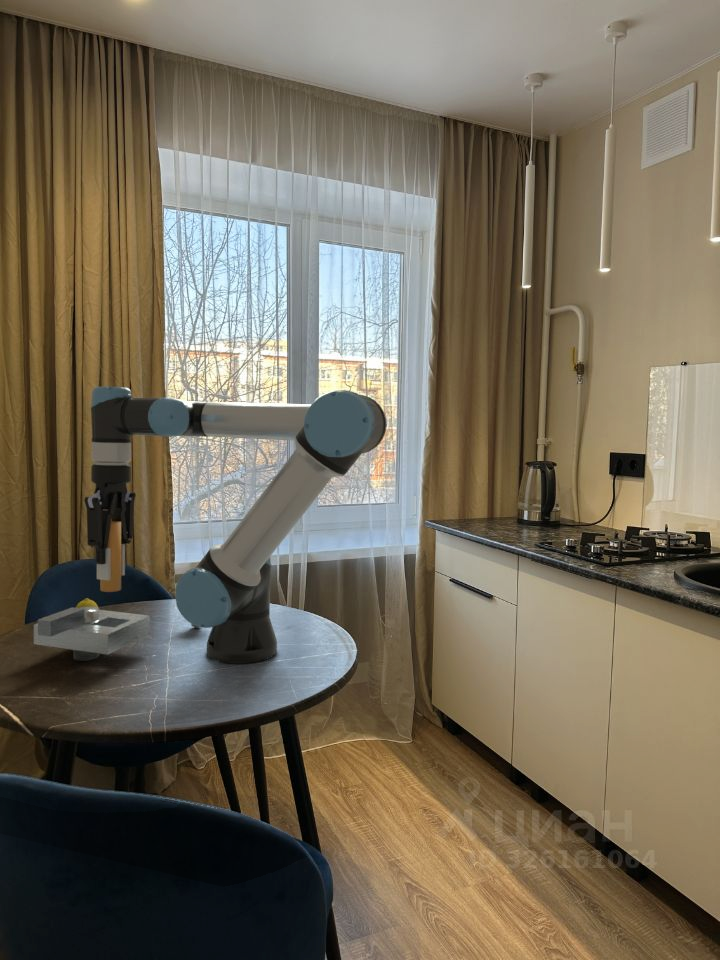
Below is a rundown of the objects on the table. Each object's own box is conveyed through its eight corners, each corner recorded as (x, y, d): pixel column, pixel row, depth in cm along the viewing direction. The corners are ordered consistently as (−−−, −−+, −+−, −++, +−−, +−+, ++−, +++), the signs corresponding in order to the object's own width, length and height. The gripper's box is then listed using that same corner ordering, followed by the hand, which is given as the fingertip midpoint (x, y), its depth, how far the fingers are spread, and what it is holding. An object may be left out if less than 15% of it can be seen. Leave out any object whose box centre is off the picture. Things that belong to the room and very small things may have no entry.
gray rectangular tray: (149, 652, 142) (149, 602, 141) (90, 683, 124) (90, 626, 123) (81, 642, 147) (80, 594, 146) (14, 671, 129) (14, 616, 128)
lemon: (90, 636, 151) (90, 602, 151) (68, 634, 153) (68, 600, 152) (104, 629, 157) (104, 596, 156) (83, 627, 158) (83, 594, 157)
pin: (108, 586, 138) (108, 520, 137) (125, 588, 137) (125, 521, 136) (96, 590, 134) (96, 522, 133) (112, 592, 133) (113, 524, 132)
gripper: (121, 461, 143) (121, 567, 145) (66, 464, 126) (66, 584, 128) (151, 462, 141) (150, 570, 143) (99, 466, 124) (99, 587, 126)
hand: (111, 576), depth 135 cm, fingers closed on pin, 4 cm apart
